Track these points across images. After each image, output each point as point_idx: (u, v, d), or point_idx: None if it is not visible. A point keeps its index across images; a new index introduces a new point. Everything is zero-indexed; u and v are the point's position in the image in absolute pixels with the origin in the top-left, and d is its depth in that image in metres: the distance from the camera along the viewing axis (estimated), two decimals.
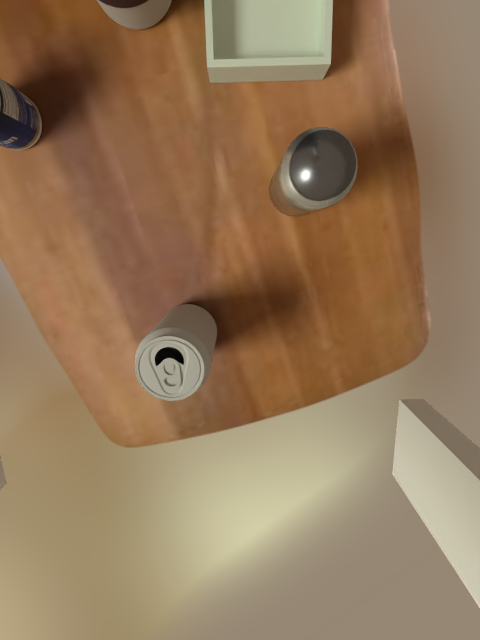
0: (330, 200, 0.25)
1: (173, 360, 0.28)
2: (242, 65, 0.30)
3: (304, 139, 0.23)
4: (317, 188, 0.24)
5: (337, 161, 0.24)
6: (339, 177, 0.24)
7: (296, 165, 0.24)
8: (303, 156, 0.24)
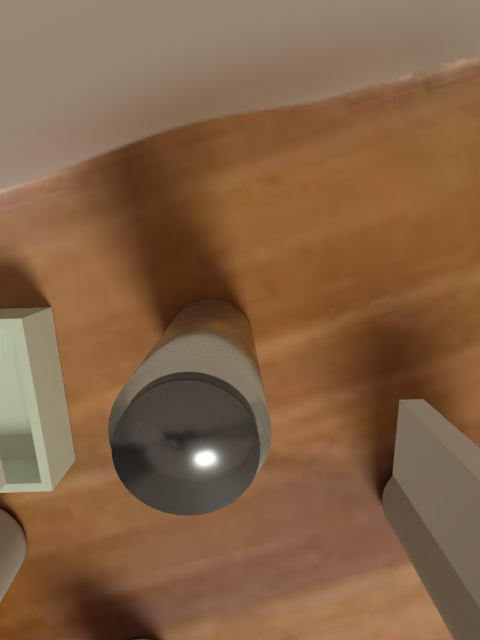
0: (256, 410, 0.11)
1: None
2: (43, 446, 0.20)
3: (135, 492, 0.11)
4: (235, 462, 0.11)
5: (176, 425, 0.10)
6: (209, 417, 0.10)
7: (188, 505, 0.11)
8: (169, 493, 0.11)
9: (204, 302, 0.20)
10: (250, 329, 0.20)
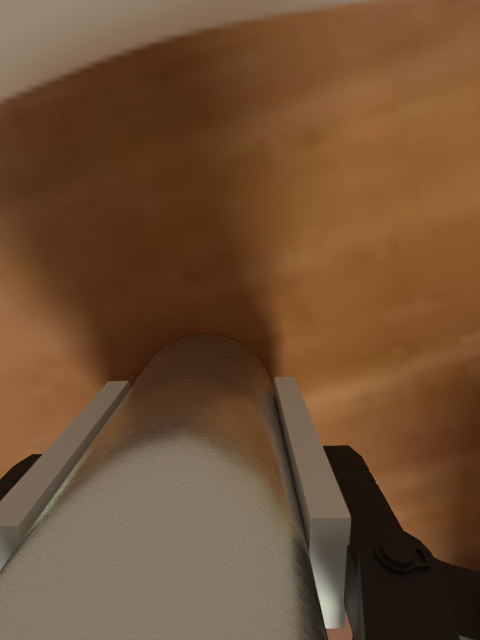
0: None
1: None
2: None
3: None
4: None
5: None
6: None
7: None
8: None
9: (194, 342, 0.12)
10: (270, 387, 0.12)
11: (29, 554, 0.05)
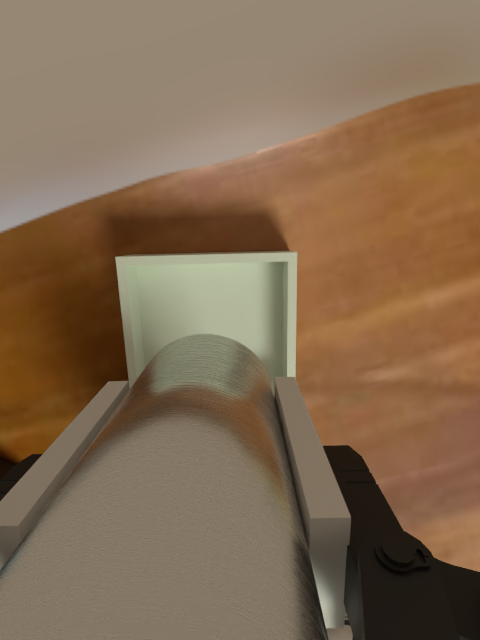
0: None
1: None
2: (294, 363, 0.24)
3: None
4: None
5: None
6: None
7: None
8: None
9: (194, 342, 0.12)
10: (270, 388, 0.12)
11: (26, 559, 0.04)
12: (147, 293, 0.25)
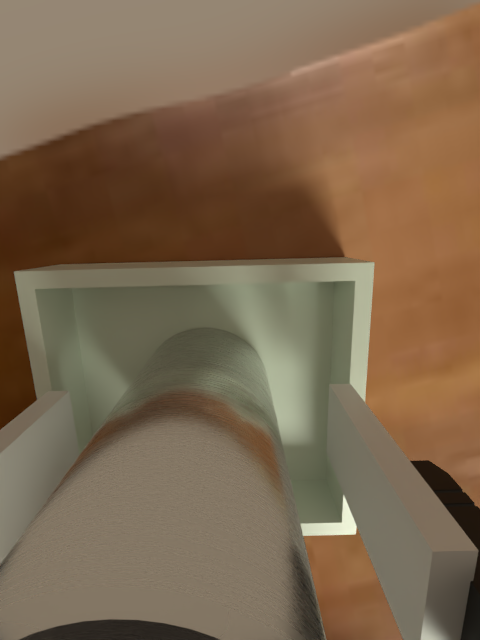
0: None
1: None
2: None
3: None
4: None
5: None
6: None
7: None
8: None
9: (195, 335, 0.13)
10: (265, 377, 0.13)
11: (59, 501, 0.05)
12: (93, 332, 0.14)
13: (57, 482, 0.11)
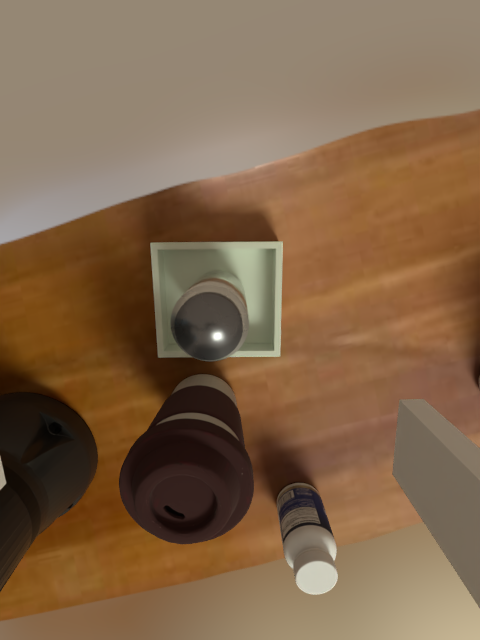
0: (241, 312, 0.24)
1: None
2: (279, 325, 0.33)
3: (183, 347, 0.23)
4: (231, 333, 0.23)
5: (204, 314, 0.23)
6: (219, 310, 0.23)
7: (208, 354, 0.23)
8: (199, 348, 0.23)
9: (215, 271, 0.33)
10: (243, 288, 0.33)
11: (191, 287, 0.25)
12: (171, 271, 0.34)
13: None
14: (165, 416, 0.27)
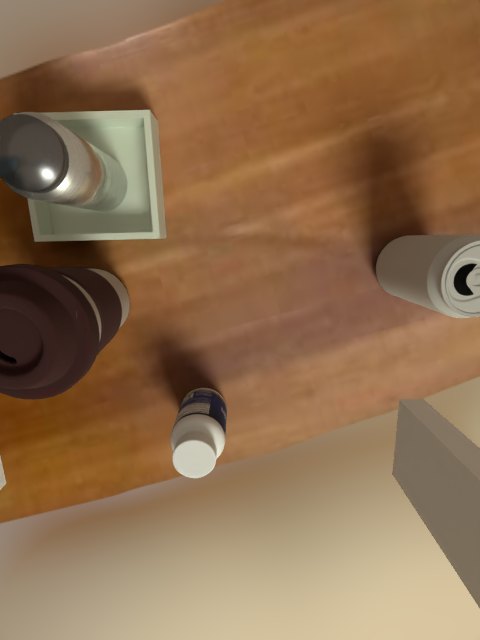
0: (66, 142, 0.23)
1: (469, 274, 0.25)
2: (156, 203, 0.32)
3: (3, 177, 0.22)
4: (49, 159, 0.22)
5: (19, 137, 0.22)
6: (34, 133, 0.22)
7: (29, 185, 0.22)
8: (19, 177, 0.22)
9: None
10: (118, 166, 0.32)
11: None
12: None
13: None
14: None
